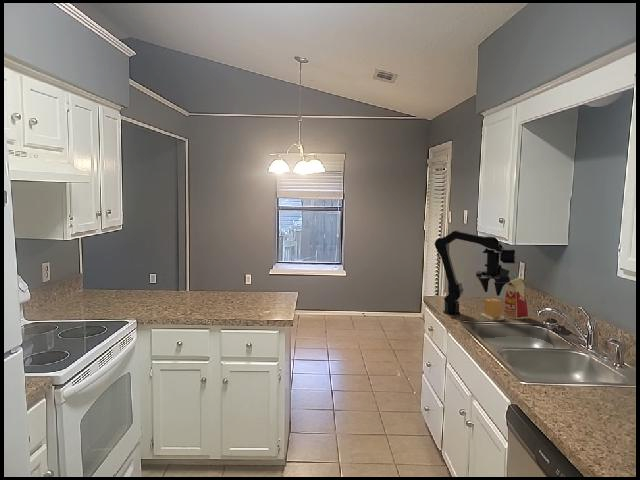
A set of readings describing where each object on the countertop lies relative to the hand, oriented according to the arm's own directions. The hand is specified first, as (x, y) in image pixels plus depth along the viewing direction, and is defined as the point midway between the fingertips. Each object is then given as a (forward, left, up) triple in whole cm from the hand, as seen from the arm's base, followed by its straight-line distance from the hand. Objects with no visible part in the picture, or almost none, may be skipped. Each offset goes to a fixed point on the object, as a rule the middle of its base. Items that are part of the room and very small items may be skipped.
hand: (492, 293), depth 234 cm
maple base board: (0, -1, -12) cm, 12 cm away
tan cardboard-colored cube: (0, -1, -11) cm, 11 cm away
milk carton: (+12, -3, -12) cm, 17 cm away
